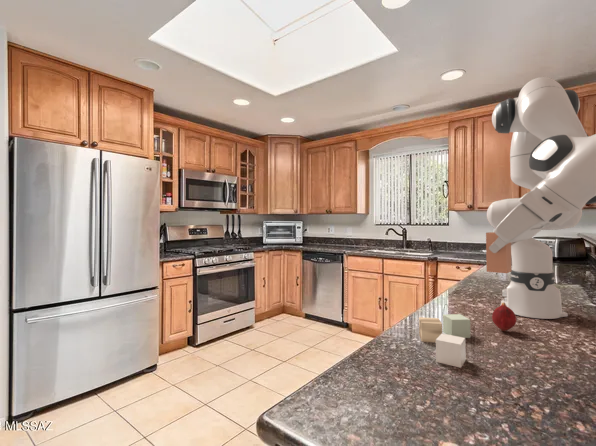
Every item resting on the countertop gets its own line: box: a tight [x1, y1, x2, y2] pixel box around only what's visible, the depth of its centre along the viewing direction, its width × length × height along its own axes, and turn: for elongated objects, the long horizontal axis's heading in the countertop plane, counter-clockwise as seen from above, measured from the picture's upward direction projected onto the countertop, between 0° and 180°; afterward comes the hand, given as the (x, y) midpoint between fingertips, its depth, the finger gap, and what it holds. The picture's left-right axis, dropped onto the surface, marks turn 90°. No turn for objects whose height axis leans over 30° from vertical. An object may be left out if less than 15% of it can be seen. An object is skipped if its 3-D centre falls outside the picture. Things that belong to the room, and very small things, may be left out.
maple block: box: [418, 316, 443, 344], centre depth 85 cm, size 5×5×5 cm
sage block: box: [442, 313, 471, 339], centre depth 88 cm, size 5×5×5 cm
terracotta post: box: [485, 231, 512, 274], centre depth 74 cm, size 4×4×9 cm
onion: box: [491, 303, 517, 332], centre depth 91 cm, size 6×6×8 cm
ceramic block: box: [435, 333, 467, 369], centre depth 72 cm, size 5×5×5 cm
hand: (495, 250), depth 74 cm, fingers closed on terracotta post, 4 cm apart
